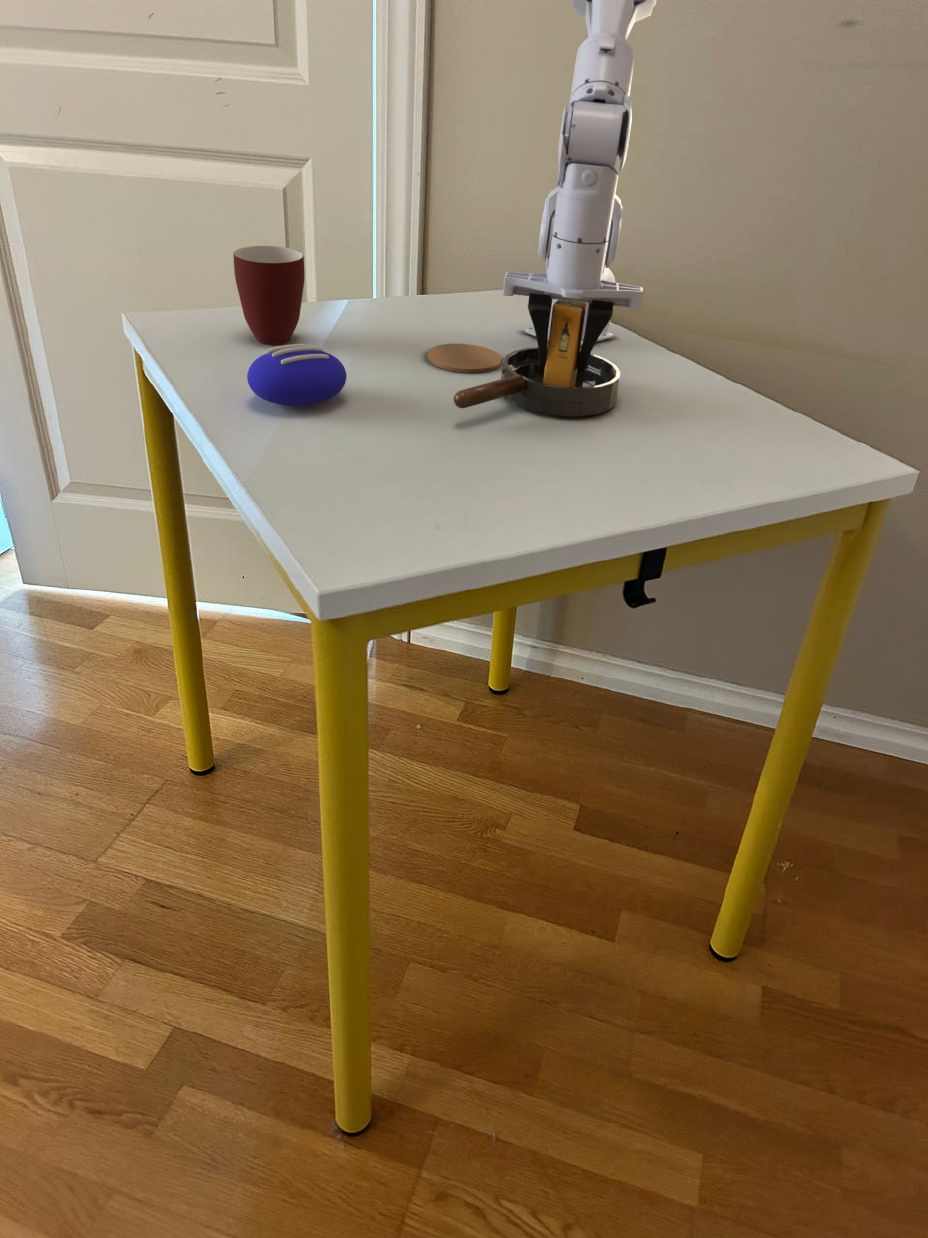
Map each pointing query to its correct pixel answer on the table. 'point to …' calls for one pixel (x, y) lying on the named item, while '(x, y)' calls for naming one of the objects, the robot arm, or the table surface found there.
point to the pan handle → (489, 391)
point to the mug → (270, 290)
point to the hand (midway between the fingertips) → (561, 367)
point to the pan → (582, 400)
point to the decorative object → (296, 375)
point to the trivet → (464, 358)
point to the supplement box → (564, 343)
